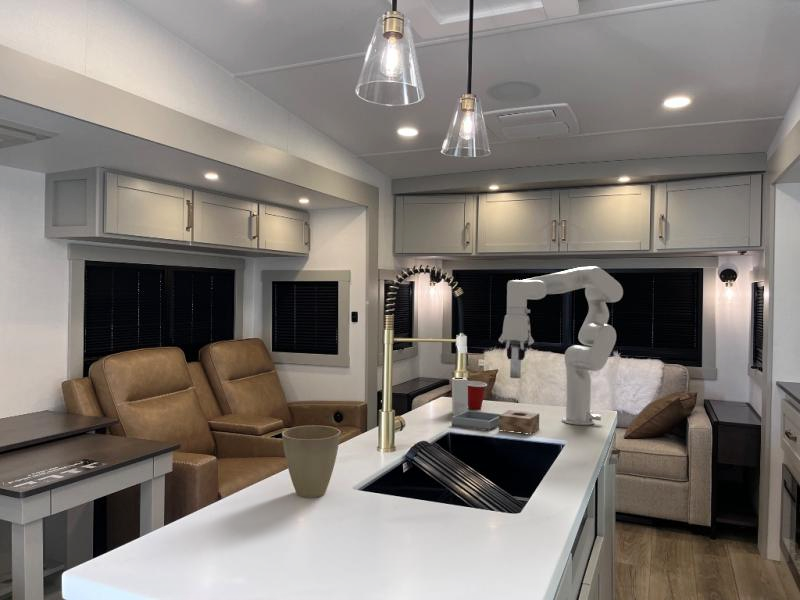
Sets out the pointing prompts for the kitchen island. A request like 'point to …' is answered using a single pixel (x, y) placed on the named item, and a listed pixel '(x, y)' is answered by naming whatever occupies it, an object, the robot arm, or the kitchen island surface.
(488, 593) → the kitchen island surface
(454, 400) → the skincare box
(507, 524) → the kitchen island surface
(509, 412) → the pin block
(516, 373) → the pin
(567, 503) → the kitchen island surface
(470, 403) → the plastic cup
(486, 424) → the tray
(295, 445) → the plant pot
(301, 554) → the kitchen island surface
